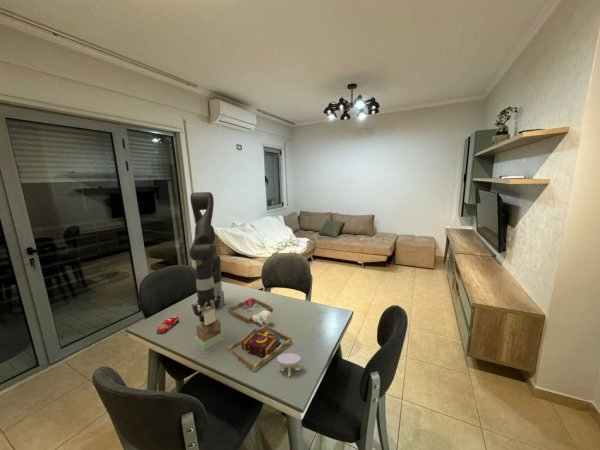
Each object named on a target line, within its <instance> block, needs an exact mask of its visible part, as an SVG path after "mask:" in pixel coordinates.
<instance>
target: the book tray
mask: <svg viewBox="0 0 600 450" xmlns="http://www.w3.org/2000/svg"><path fill="white" fill-rule="evenodd" d="M257 330H259V331H261V332H269V334H275V335H279V336H281V338H280V340H282V339H283V341H284V340H285V341H284V342H283V343H281V345H280V346H279V347H278V348H276V349H275V350H274V351H272V352H271V353H270V355H267V356H265V357H262V358H261V359H260V360H258V361H257V362H256V363H255V364H254V363H252V362H251V361H250V360H248V359H247V358H245V357H244V356H242V355H241V354H239V352H237V351H235V350H234V348H236V347H238V346H239V345H242V342H243V341H244V340H245V339H246V338H247V337H248V336H249V335H250V333H249V334H248V335H247V336H245V337H243V338H242V339H239V340H238V341H236V342H235V343H233V344H232V345H230V346H228V347H227V351H229V353H231V354H232V355H233V356H235V357H236V358H237V359H238V360H237V361H239V362H240V361H241V362H242V363H241V362H240V363H241V364H243V365H244V364H245V365H246V367H247V368H248V367H249V368H250V369H249V368H248V369H249V370H250V371H252V370H253V371H255V370H256V371H258V370H259V369H260V368H261V367H263V366H264V365H265V364H267V363H268V362H269V361H271V360H272V359H273V358H274V357H273V356H275V355H276V354H277V353H278V354H280V353H281V352H282V351H284V350H285V349H286V348H287V347H286V346H288V345H289V344H290V343H291V344H292V343H293V342H292V341H293V340H292V339H293V338H292V337H289V336H288V335H285V334H284V333H283V332H280V331H278V330H277V329H275V328H273V327H271V326H269V325H265V324H263V325H262V326H261V327H259V328H258V329H257ZM291 344H290V345H291ZM290 345H289V346H290ZM289 346H288V347H289ZM285 347H286V348H285ZM284 348H285V349H284ZM283 349H284V350H283ZM281 350H282V351H281ZM280 351H281V352H280ZM279 352H280V353H279ZM278 354H277V355H278ZM277 355H276V356H277ZM276 356H275V357H276ZM272 357H273V358H272ZM271 358H272V359H271ZM270 359H271V360H270ZM268 360H269V361H268ZM267 361H268V362H267ZM266 362H267V363H266ZM264 363H265V364H264ZM263 364H264V365H263ZM245 365H244V366H245ZM262 365H263V366H262ZM260 366H261V367H260ZM259 367H260V368H259ZM258 368H259V369H258ZM257 369H258V370H257ZM253 371H252V372H253ZM256 371H255V372H256Z"/></svg>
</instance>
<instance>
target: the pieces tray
mask: <svg viewBox="0 0 600 450" xmlns="http://www.w3.org/2000/svg"><path fill="white" fill-rule="evenodd" d="M250 298H253V304H256V305H257V306H260V307H262V308H264V307H265V308H264V309H265V310H266V311H271V312H272V311H273V306H272V305H270V304H267V303H265V302H264V301H261V300H258V299H256V298H254V297H250ZM248 299H249V298H246V299H245V300H243V301H240V302H238V303H236V304H235V305H232V306H230V307H228V308H227V313H228V314H230V315H232V316H233V317H235V318H236V319H238V320H240V321H242V322H243V323H246V324H247V325H249V324H251V323H254V321H253V320H252V317H253V316H251V317H248V318H247V317H245V316H244V315H243V314H240V313H239V312H236V311H235V310H237V309H239V308H241V307H242V308H243V307H245V306H246V305H248V304H247V300H248ZM266 308H267V309H266ZM259 313H260V312H259ZM259 313H256V314H255V315H257V314H259Z"/></svg>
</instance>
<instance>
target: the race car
mask: <svg viewBox="0 0 600 450" xmlns="http://www.w3.org/2000/svg"><path fill="white" fill-rule="evenodd" d="M179 321H180V318H179V316H175V315H173V316H171V317H169V318H167V319H165V320H164V321H163V322H161V325H159V326H158V327H157V328H156V329H157V330H156V332H157V334H165V333H166V334H167V333H168V331H169V330H171V329H172V328H173V327H175V325H177V324H178V323H179Z"/></svg>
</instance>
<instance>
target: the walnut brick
mask: <svg viewBox="0 0 600 450" xmlns="http://www.w3.org/2000/svg"><path fill="white" fill-rule="evenodd" d="M195 327H196V328H195V329H196V336H197V337H198V338H199V339H200V340H202V341H203V342H205V341H207V340H209V339H210V338H212V337H214V336H216V335H218V334H220V333H221V332H222V330H221V329H222V327H221V321H220V320H218V319H217V318H216V321H214V322H212V323H210V324H208V325H205V324H203V323H202V322H201V323H198V324H196V325H195Z"/></svg>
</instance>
